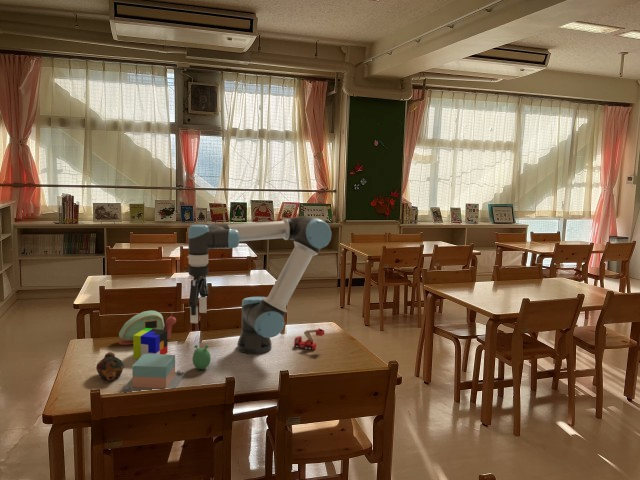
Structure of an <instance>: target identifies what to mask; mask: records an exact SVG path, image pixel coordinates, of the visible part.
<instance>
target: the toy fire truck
mask: <svg viewBox="0 0 640 480" xmlns="http://www.w3.org/2000/svg"><path fill="white" fill-rule="evenodd" d="M311 333H315V336H316V337H317V336H318V337H323V336H324V335H325V330H324V329H323V328H317V329H309V330H308V329H307V330H305V331H304V332H303V334H304V336H305V337H306V338H307V340H305V341H302V340H303V337H302V336H296V337H294V343H293V347H295V348H296V347H298V348H301V349H305V350H309V349H310V350H309V351H314V350H315V349H316V348H317V343H315V342H314V339H313V337H312V335H311Z"/></svg>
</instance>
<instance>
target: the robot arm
mask: <svg viewBox="0 0 640 480" xmlns="http://www.w3.org/2000/svg"><path fill="white" fill-rule="evenodd" d="M187 234H188V235H187V238H188V241H187V243H188V244H187V246H188V255H187V256H186V258H187V259H188V275H189V276H192V277H193V279H192V280H190V289H189V290H190V291H189V298H188V303H187V307H189V308H190V309H189V310H190V315H189V316H190V318H189V319H190V320H189V321H190V322H189V323H190V324H198V323H199V313H200V314H201V313H202V314H207V297H209V294H210V293H209V292H208V291H209V290H208V284H207V277H206V276H208V274H209V265H208V264H209V250H215V249H216V250H219V249H234V248H238V247H239V243H240V242H249V241H261V240H276V239H283V240H285V241H293V244H294V248H293V249H292V251H291V253H290V255H289V257H288V259H287V260H286V262H285V264H284V266H283V268H282V270H281V271H280V273H279V275H278V278H277V279H276V281H275V282H274V284H273V286H272V288H271V290H270V292H269V294H268V296H250V297H245V298H243V299H242V300H241V332H240V335H239V338H238V341H237V343H236V344H237V345H236V346H237V350H238V351H239V352H241V353H244V354H249V355H250V354H251V355H252V354H253V355H257V354H258V355H259V354H265V353H268V352H269V351H271V350H272V348H273V347H272V343H273V342H272V339H271V338H274V337H277V336H278V335H280V334H281V333H282V331H283V329H284V327H285V319H284V318H285V316H286V314H287V312H288V310H287V306H288V303H289V301H290V299H291V297H292V295H293V294H294V292H295V290H296V288H297V286H298V284H299V282H300V281H301V279H302V277H303V275H304V273H305V271H306V270H307V267H308V266H309V264H310V262H311V260H312V258H313V257H315V256H317V255H319V252H320V251H321V249H323V248H325V247H327V246H328V245H329V243H330V242H331V240H332V234H333V233H332V230H331V226H330V225H329V224H328V223H327V222H326V221H325V220H323V219H320V218H315V217H312V216H307V215H306V216H305V215H304V216H303V215H302V216H295V217H288V218H287V217H285V218H282V220H275V221H262V222H261V221H259V222H258V221H257V222H248V223H244V222H243V223H232V224H216V223H212V224H209V225H207V224H199V223H198V224H191V225H190V226H189V227H188V233H187ZM198 301H199V302H198ZM198 303H199V305H198Z"/></svg>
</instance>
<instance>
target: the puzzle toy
mask: <svg viewBox="0 0 640 480" xmlns="http://www.w3.org/2000/svg"><path fill="white" fill-rule="evenodd" d="M132 345H133V348H132V349H133V359H135V360H136V359H137V360H138V359H139V358H140V357H141V356H142V355H143V354H164V355H167V353H169V352H168V339H167V330H160V329H151V328H145V329H143V330H142V331H140V332H138V333H136V334H135V335H133V344H132Z"/></svg>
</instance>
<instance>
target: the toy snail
mask: <svg viewBox="0 0 640 480" xmlns="http://www.w3.org/2000/svg"><path fill="white" fill-rule="evenodd" d="M170 315H171V316H169V317H167V318H166V319H165V322H164V316H163V315H162V313H160V312H158V311H157V310H146V311H145V310H144V311H142V312H140V313H138V314H136V315H133V316H132V317H130V319H128V320H127V321H126V322H125V323H124V324H123V326H122V327H121V329H120V330H119V332H118V336H119V339H120V341H119V342H118V344H119V345H120V346H122V345H124V346H126V345H133V335H135V334H136V333H138V332H140V331H142V330H143V329H145V328H151V329H160V330H167V340H170V338H171V335H172V329H173V326H174V325H175V324H176V323H177V318H176V317H175V316H174V315H173V311H171V313H170Z"/></svg>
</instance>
